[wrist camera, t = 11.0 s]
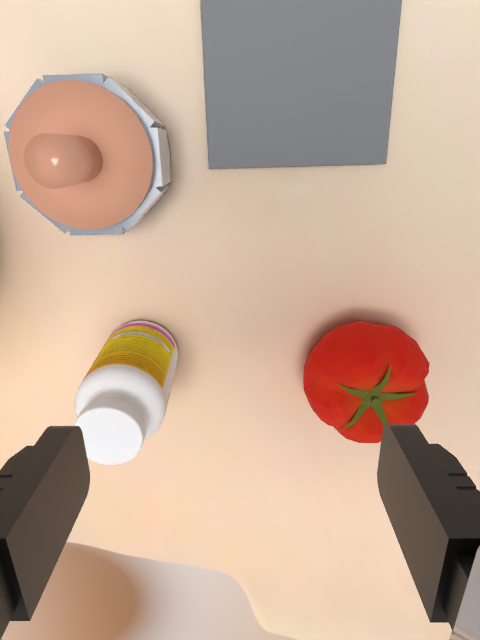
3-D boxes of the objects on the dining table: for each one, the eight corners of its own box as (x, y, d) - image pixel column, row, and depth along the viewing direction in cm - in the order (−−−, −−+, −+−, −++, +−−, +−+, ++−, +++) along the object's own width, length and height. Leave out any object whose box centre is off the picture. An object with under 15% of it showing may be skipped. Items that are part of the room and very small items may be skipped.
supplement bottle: (103, 318, 39) (47, 394, 27) (176, 316, 39) (153, 392, 27) (112, 383, 41) (65, 478, 29) (181, 381, 41) (162, 475, 30)
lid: (145, 79, 27) (122, 61, 21) (160, 223, 30) (145, 241, 25) (2, 85, 27) (-60, 68, 21) (33, 229, 30) (-12, 248, 25)
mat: (404, -56, 29) (407, -60, 29) (383, 163, 34) (385, 163, 34) (198, -51, 29) (197, -55, 28) (209, 168, 34) (209, 168, 34)
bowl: (164, 84, 32) (152, 72, 27) (175, 220, 36) (166, 232, 31) (30, 87, 32) (-8, 76, 27) (55, 223, 36) (26, 236, 30)
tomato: (310, 303, 39) (328, 337, 32) (425, 319, 40) (467, 356, 33) (287, 402, 43) (298, 451, 36) (392, 415, 44) (423, 466, 37)
